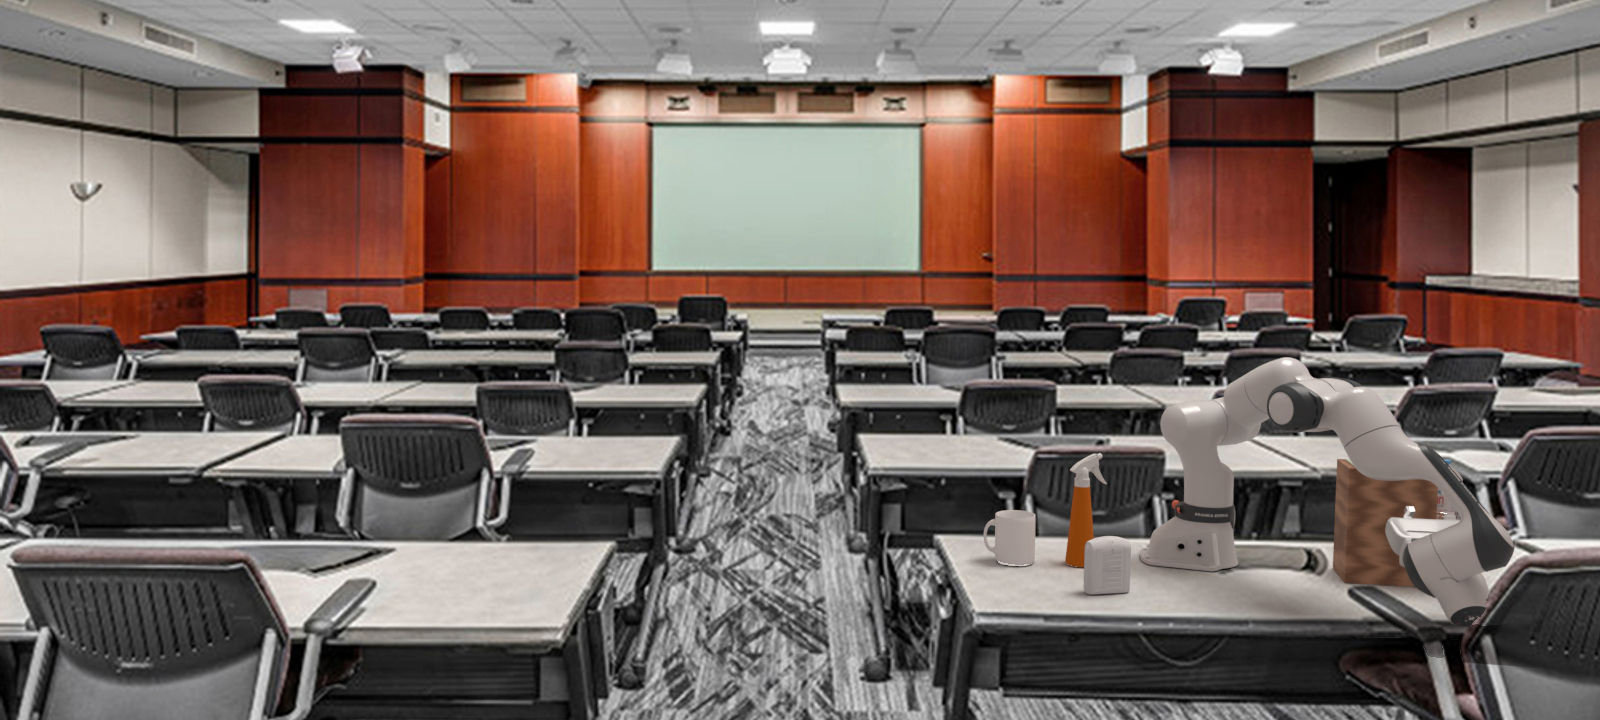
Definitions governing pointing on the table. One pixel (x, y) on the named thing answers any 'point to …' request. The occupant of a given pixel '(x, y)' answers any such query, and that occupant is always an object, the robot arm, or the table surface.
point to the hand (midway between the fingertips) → (1433, 509)
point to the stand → (1374, 524)
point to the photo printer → (1107, 565)
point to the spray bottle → (1082, 509)
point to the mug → (1013, 537)
